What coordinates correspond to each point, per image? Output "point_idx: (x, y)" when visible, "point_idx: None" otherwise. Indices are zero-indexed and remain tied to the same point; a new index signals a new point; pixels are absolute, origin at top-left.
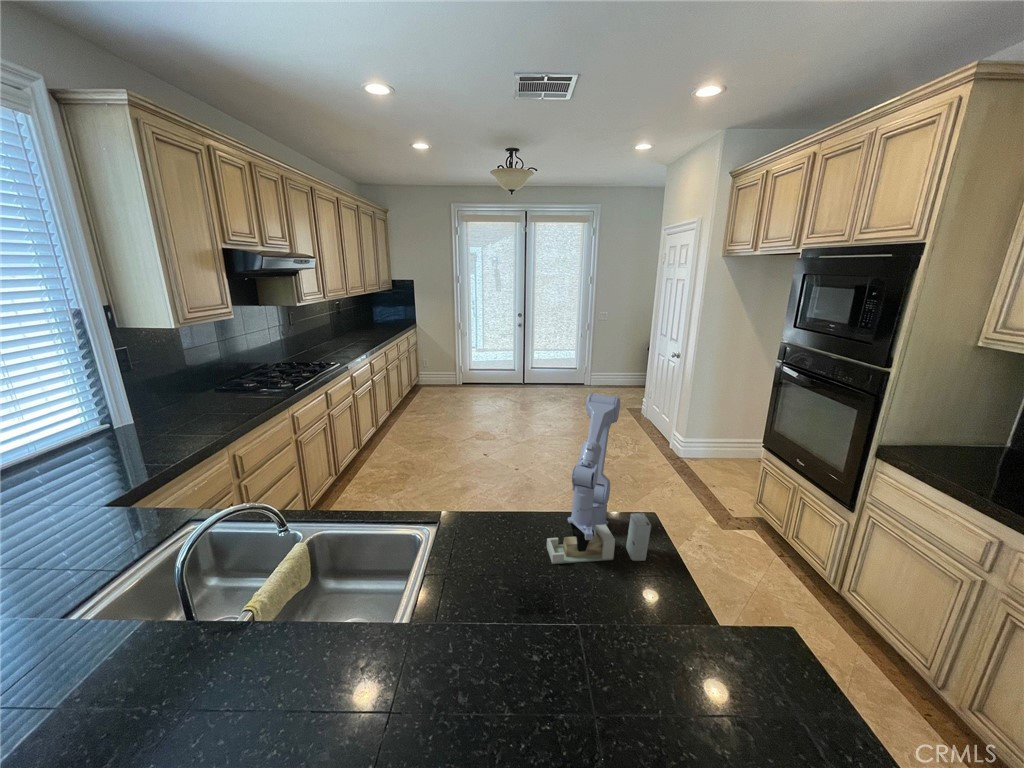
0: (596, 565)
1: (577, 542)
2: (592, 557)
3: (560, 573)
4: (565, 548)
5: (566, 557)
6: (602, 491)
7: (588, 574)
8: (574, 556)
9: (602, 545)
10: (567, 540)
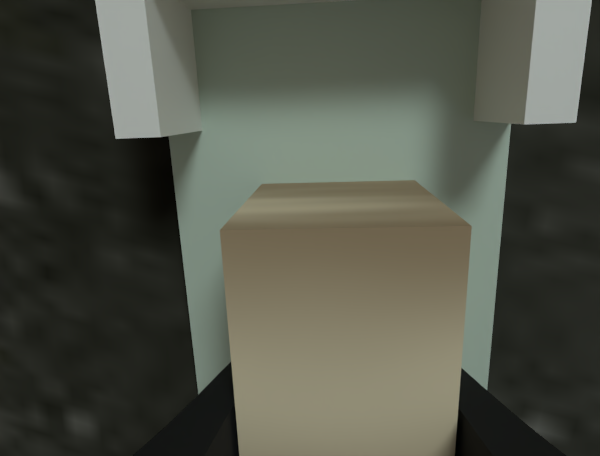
0: None
1: (165, 451)
2: None
3: (4, 53)
4: (305, 199)
5: (244, 184)
6: None
7: (24, 342)
8: None
9: None
10: (352, 273)
